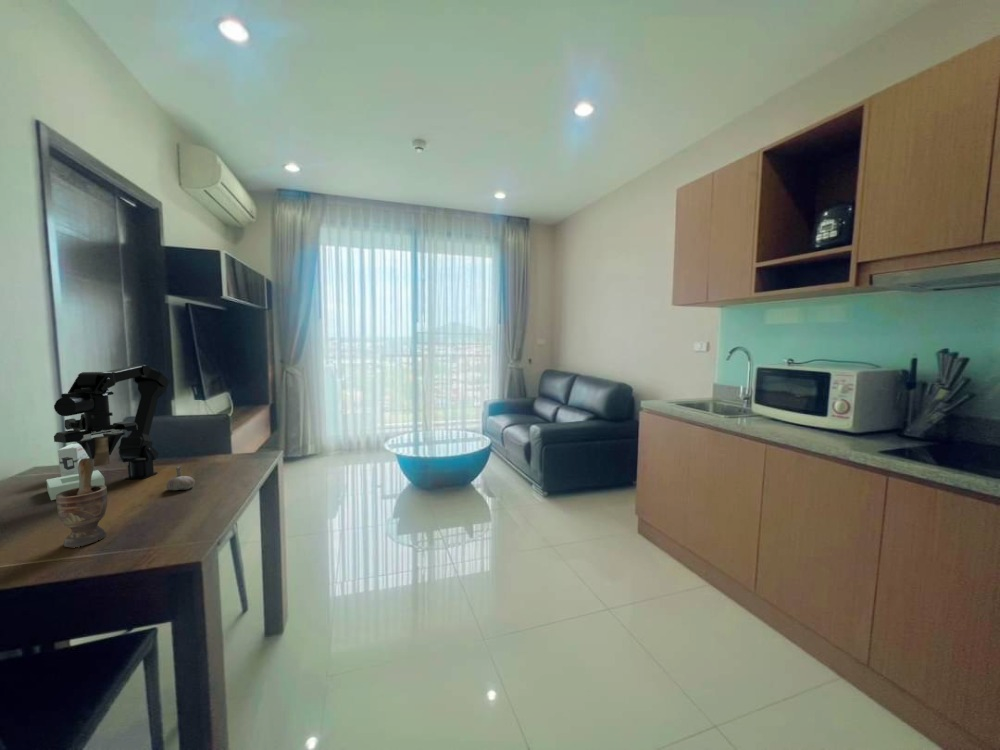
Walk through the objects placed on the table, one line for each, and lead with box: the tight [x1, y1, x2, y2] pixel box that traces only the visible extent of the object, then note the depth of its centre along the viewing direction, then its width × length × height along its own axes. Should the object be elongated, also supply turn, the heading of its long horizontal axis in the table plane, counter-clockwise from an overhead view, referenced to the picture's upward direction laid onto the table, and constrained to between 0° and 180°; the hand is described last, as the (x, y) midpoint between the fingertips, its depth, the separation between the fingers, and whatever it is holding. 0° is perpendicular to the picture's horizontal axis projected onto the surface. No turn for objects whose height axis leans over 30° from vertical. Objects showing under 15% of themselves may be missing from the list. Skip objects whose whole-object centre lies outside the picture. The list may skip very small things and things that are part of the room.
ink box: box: [57, 443, 89, 477], centre depth 140 cm, size 8×5×12 cm, turn 28°
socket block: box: [46, 469, 106, 501], centre depth 128 cm, size 12×12×4 cm
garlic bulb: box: [166, 466, 196, 491], centre depth 130 cm, size 8×7×8 cm
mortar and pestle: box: [55, 458, 108, 549], centre depth 96 cm, size 12×9×20 cm
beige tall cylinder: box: [91, 436, 111, 467], centre depth 124 cm, size 4×4×9 cm
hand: (100, 456), depth 124 cm, fingers closed on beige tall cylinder, 4 cm apart
